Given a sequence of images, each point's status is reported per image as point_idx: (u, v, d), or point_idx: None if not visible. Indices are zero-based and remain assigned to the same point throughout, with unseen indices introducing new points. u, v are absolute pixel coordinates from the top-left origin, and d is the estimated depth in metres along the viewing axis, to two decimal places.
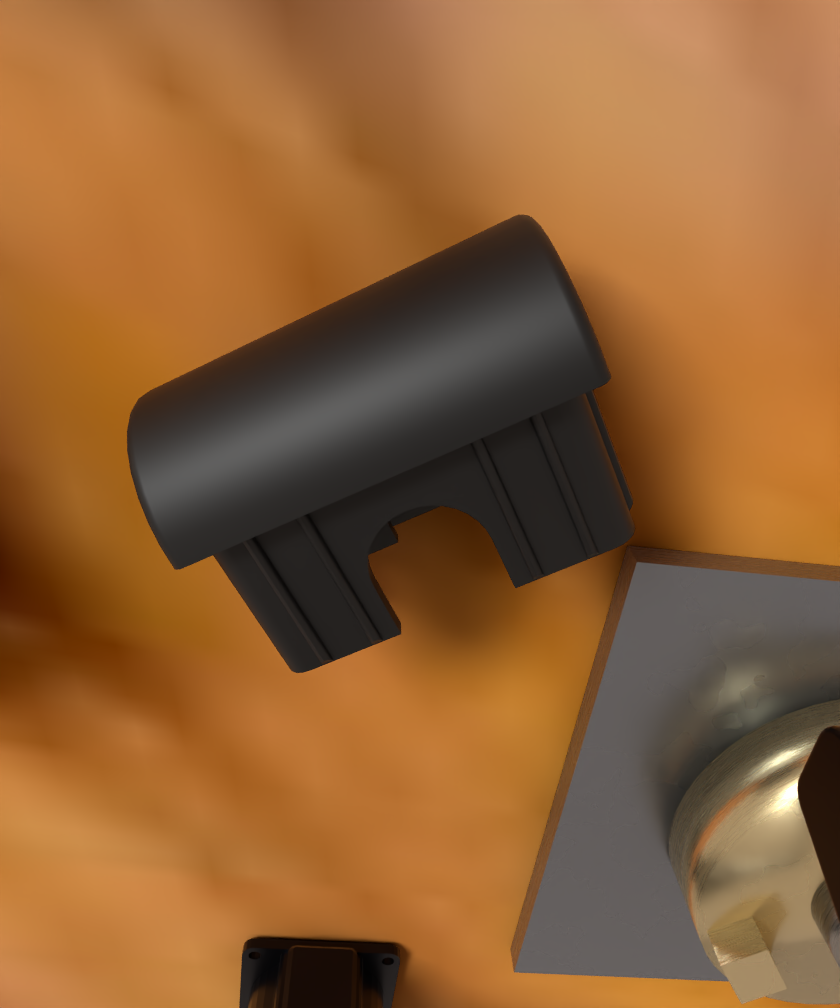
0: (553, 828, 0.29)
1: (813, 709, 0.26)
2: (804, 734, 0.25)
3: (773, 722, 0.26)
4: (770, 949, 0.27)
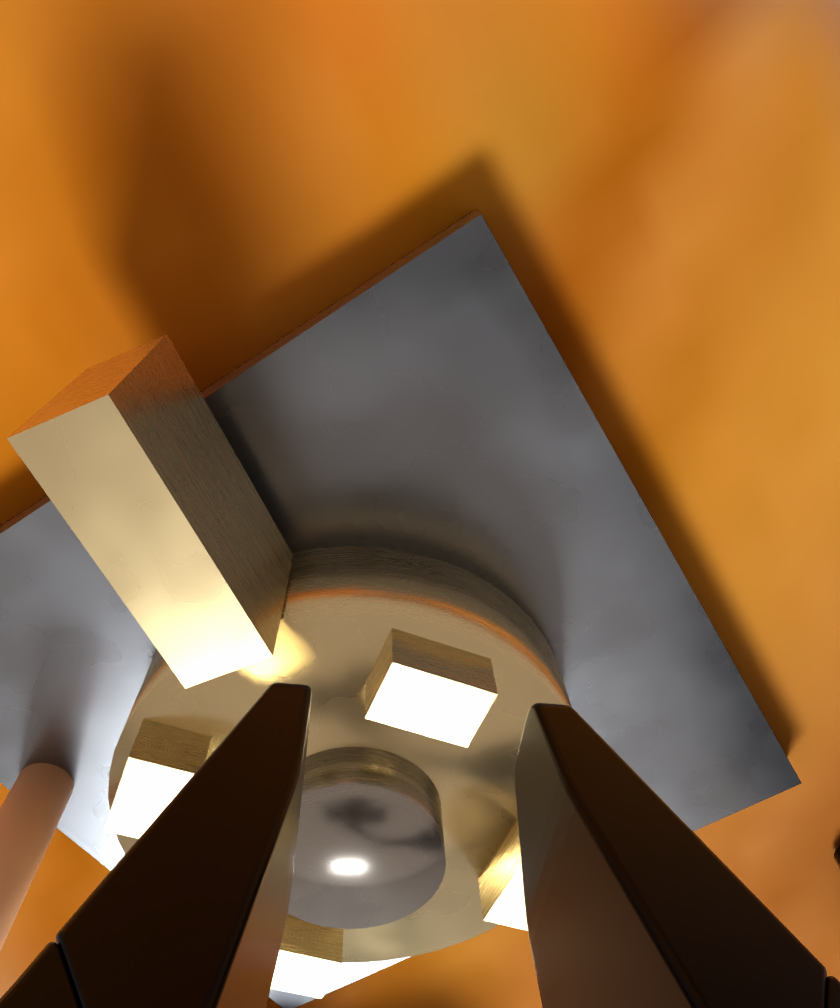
0: None
1: None
2: None
3: None
4: (510, 824, 0.20)
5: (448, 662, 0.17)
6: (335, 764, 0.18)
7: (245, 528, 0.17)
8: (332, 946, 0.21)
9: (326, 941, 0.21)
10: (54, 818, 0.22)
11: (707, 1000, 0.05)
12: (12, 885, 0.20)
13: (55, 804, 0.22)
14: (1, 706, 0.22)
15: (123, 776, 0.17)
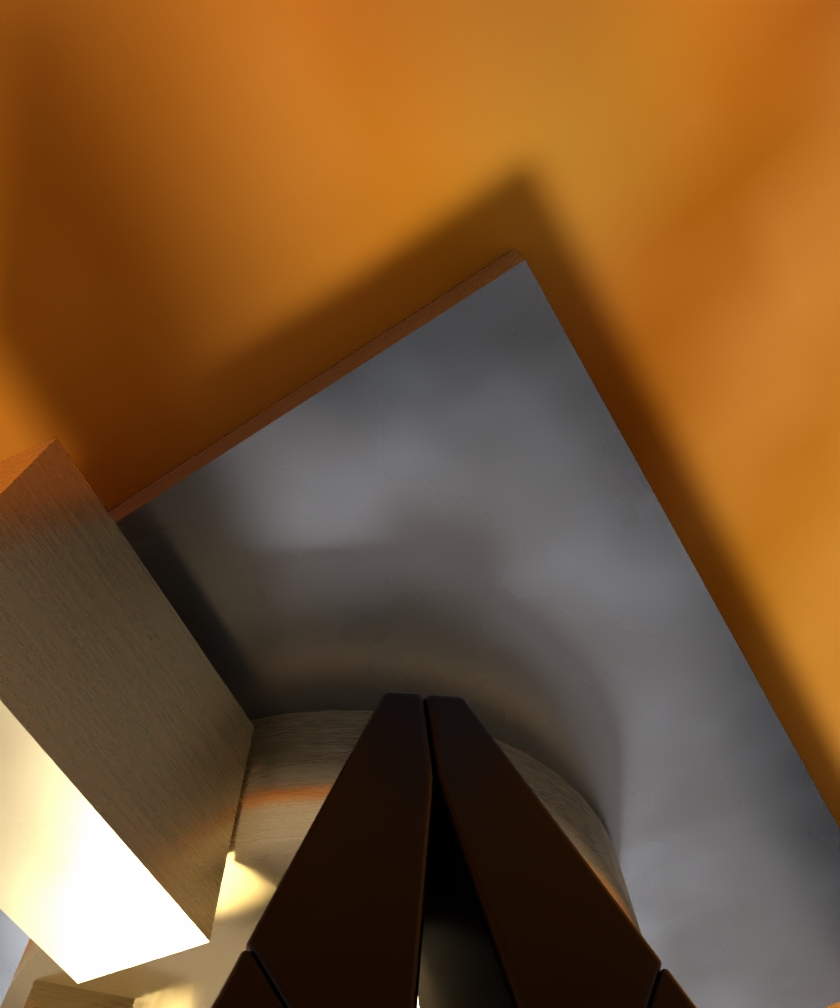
0: None
1: None
2: None
3: None
4: None
5: None
6: None
7: (175, 723, 0.11)
8: None
9: None
10: None
11: (525, 992, 0.05)
12: None
13: None
14: None
15: None
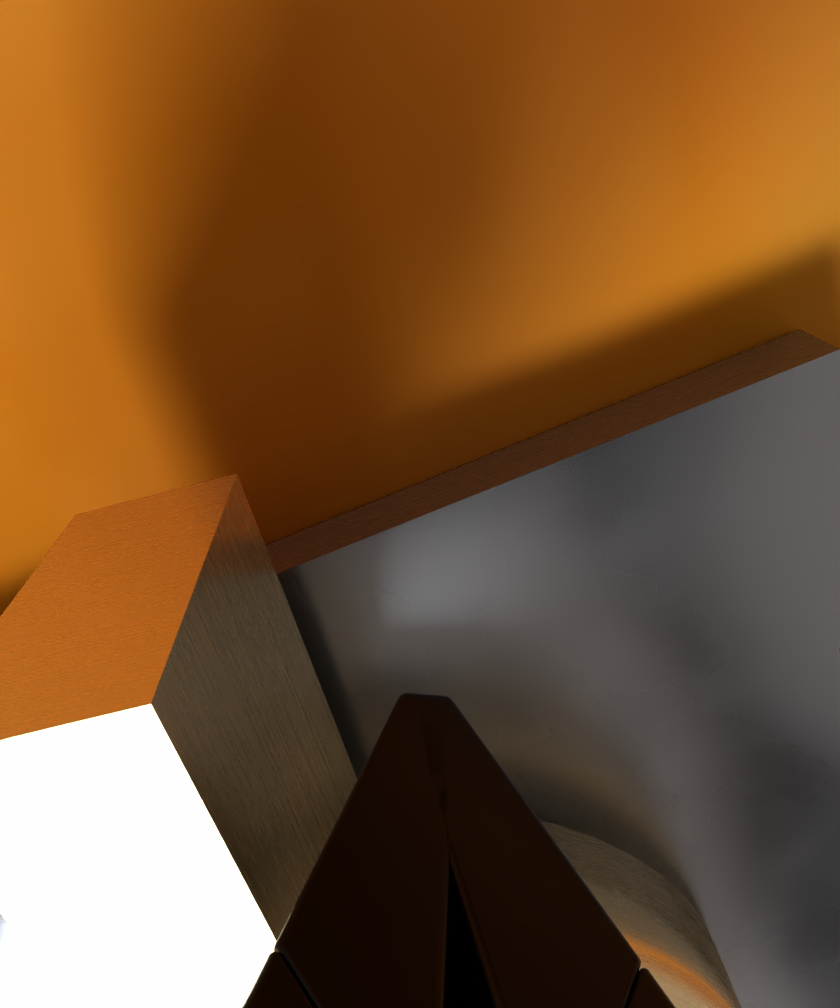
0: None
1: None
2: None
3: None
4: None
5: None
6: None
7: None
8: None
9: None
10: None
11: (502, 992, 0.05)
12: None
13: None
14: None
15: None
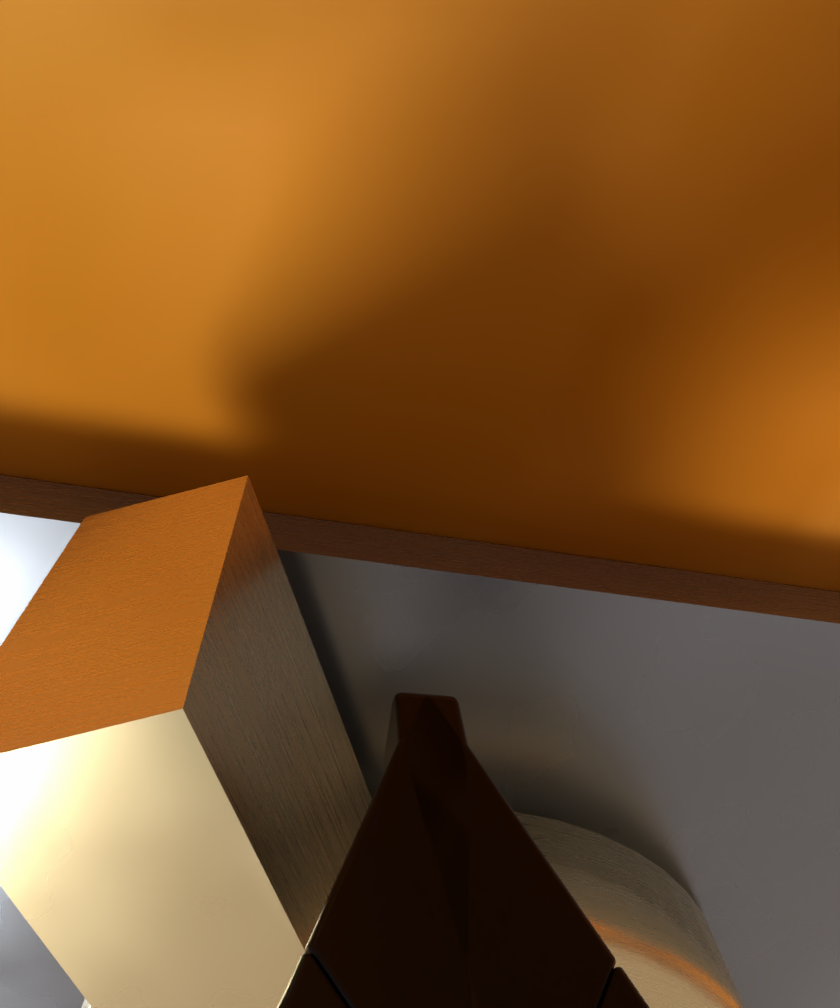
0: None
1: None
2: None
3: None
4: None
5: None
6: None
7: (345, 834, 0.09)
8: None
9: None
10: None
11: (473, 990, 0.05)
12: None
13: None
14: None
15: None
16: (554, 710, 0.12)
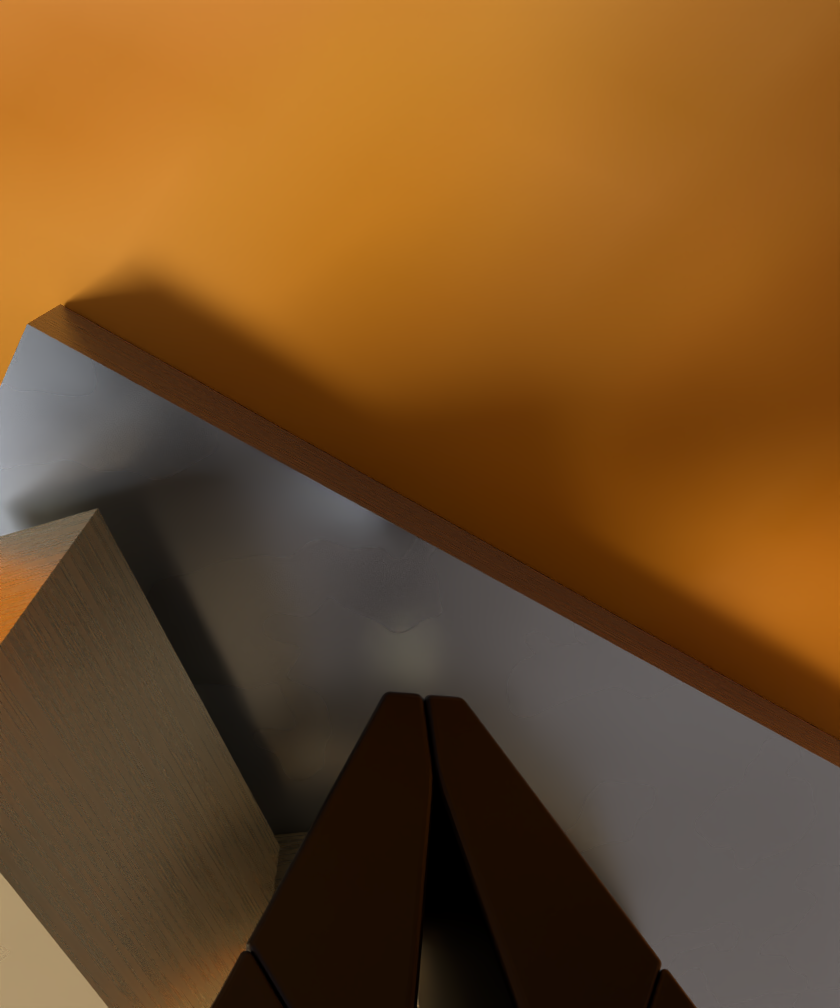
0: None
1: None
2: None
3: None
4: None
5: None
6: None
7: (206, 867, 0.09)
8: None
9: None
10: None
11: (525, 993, 0.05)
12: None
13: None
14: None
15: None
16: (633, 795, 0.12)
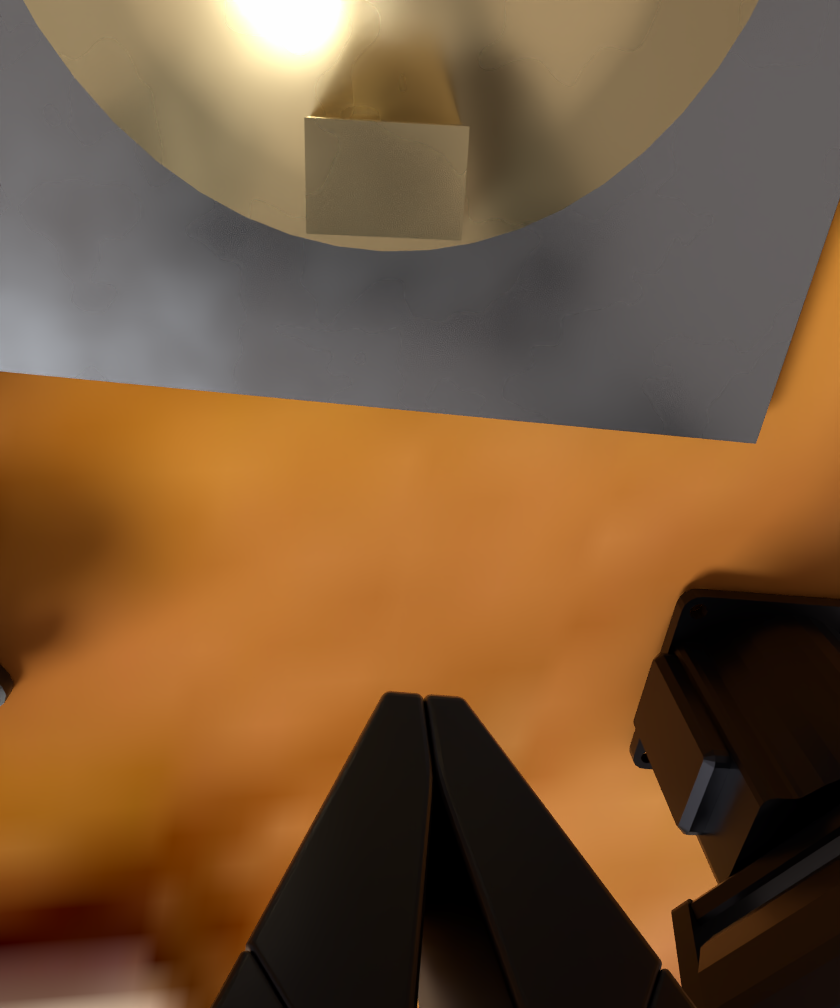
0: (425, 407, 0.18)
1: None
2: None
3: None
4: None
5: None
6: None
7: None
8: (447, 124, 0.12)
9: None
10: None
11: (525, 993, 0.05)
12: None
13: None
14: None
15: None
16: None
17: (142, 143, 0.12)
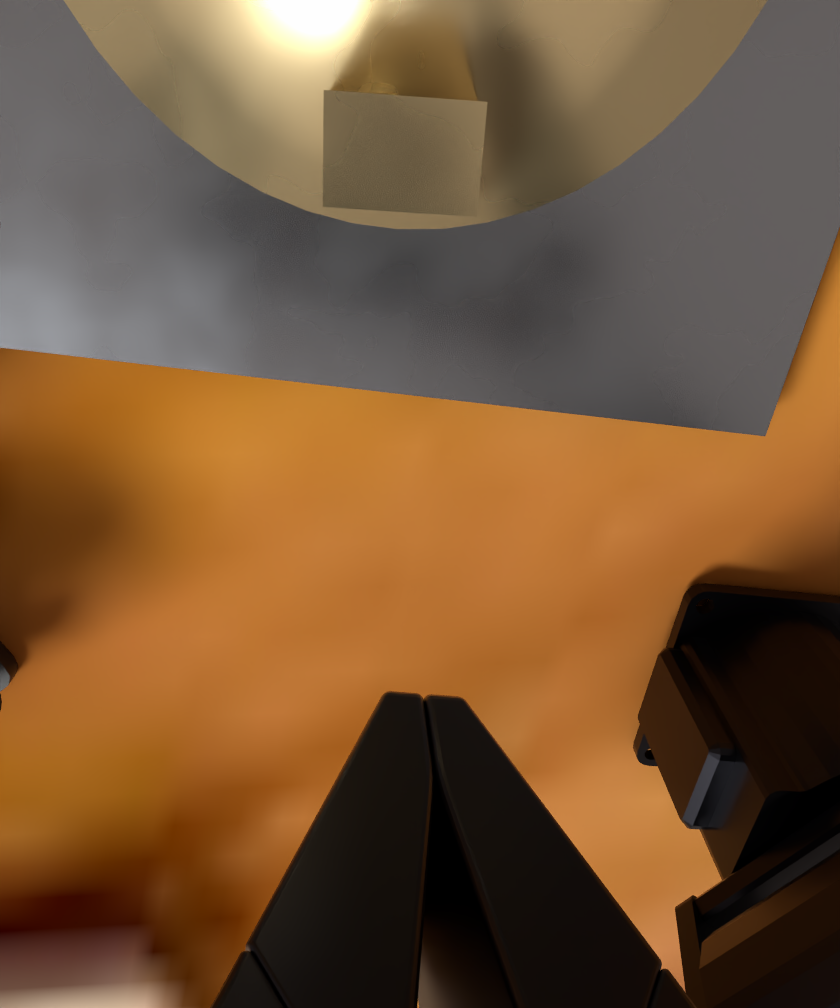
0: (435, 393, 0.18)
1: None
2: None
3: None
4: None
5: None
6: None
7: None
8: None
9: None
10: None
11: (525, 993, 0.05)
12: None
13: None
14: None
15: None
16: None
17: (161, 116, 0.12)
